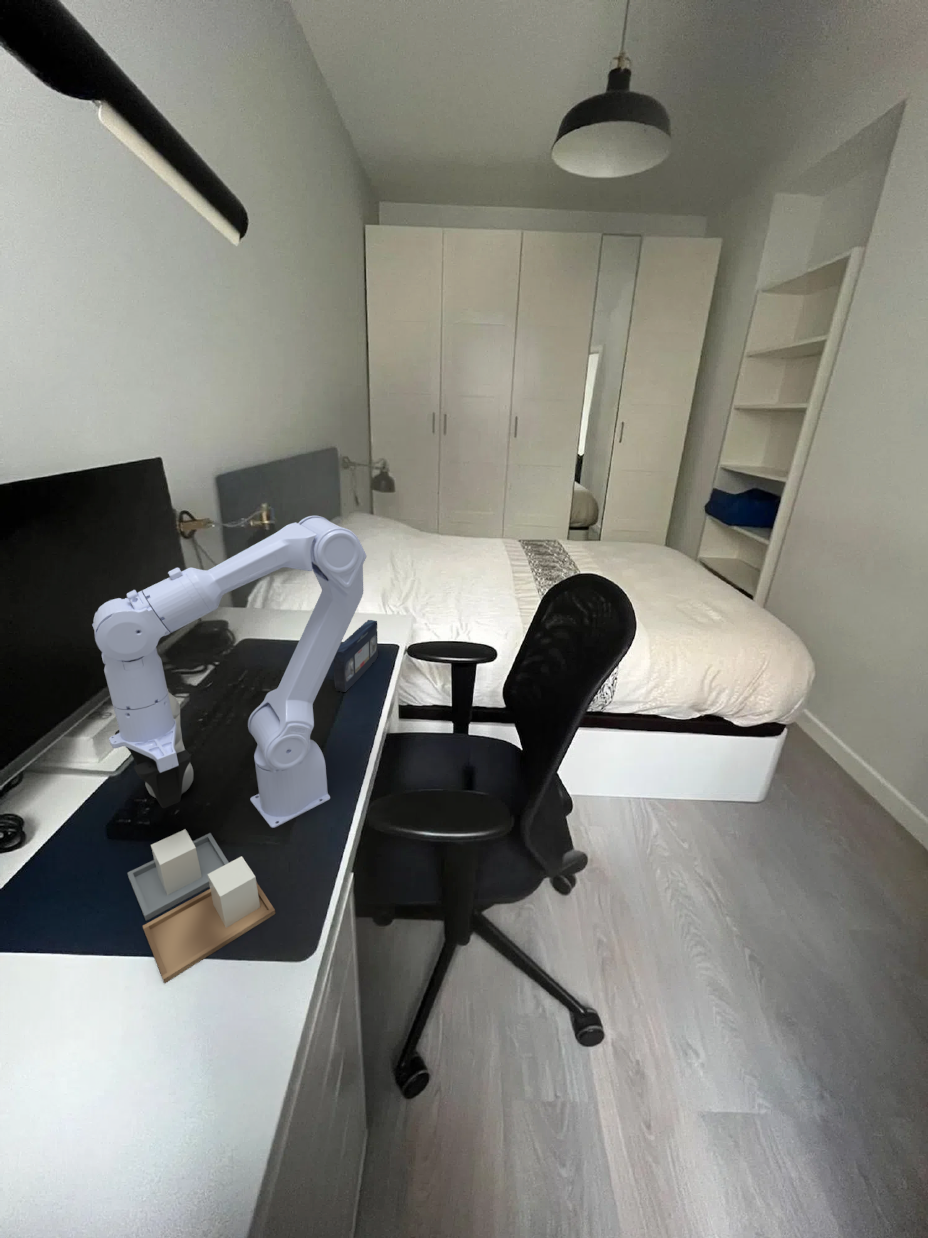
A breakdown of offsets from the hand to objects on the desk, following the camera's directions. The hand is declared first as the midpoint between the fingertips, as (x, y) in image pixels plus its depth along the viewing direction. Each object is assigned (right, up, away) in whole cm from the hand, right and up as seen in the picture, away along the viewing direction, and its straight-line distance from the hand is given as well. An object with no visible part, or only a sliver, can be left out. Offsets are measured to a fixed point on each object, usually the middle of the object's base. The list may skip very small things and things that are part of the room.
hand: (161, 788), depth 66 cm
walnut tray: (+10, -14, -7) cm, 18 cm away
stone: (+12, -13, -5) cm, 18 cm away
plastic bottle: (-6, -5, +14) cm, 16 cm away
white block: (+3, -11, -1) cm, 11 cm away
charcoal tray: (+3, -11, -1) cm, 12 cm away
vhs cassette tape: (+15, +9, +52) cm, 54 cm away
